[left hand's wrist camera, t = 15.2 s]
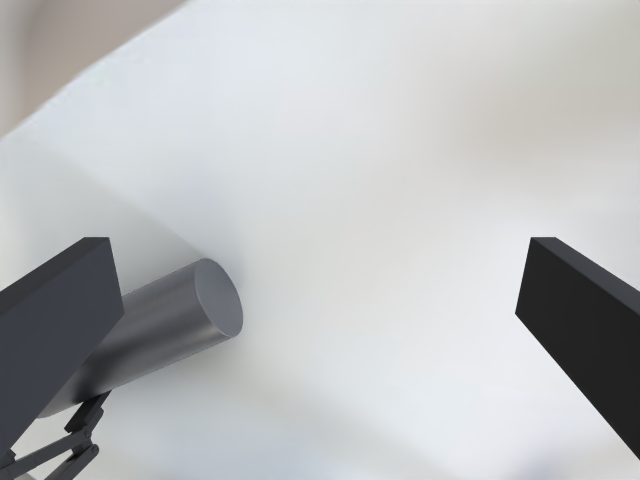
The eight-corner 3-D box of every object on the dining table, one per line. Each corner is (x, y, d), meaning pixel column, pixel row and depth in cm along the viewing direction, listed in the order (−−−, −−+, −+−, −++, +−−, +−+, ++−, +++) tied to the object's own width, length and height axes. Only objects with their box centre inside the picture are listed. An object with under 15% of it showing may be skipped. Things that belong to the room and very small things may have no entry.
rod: (209, 246, 44) (183, 281, 36) (248, 307, 47) (233, 353, 39) (39, 327, 48) (-20, 376, 40) (84, 380, 51) (38, 436, 43)
